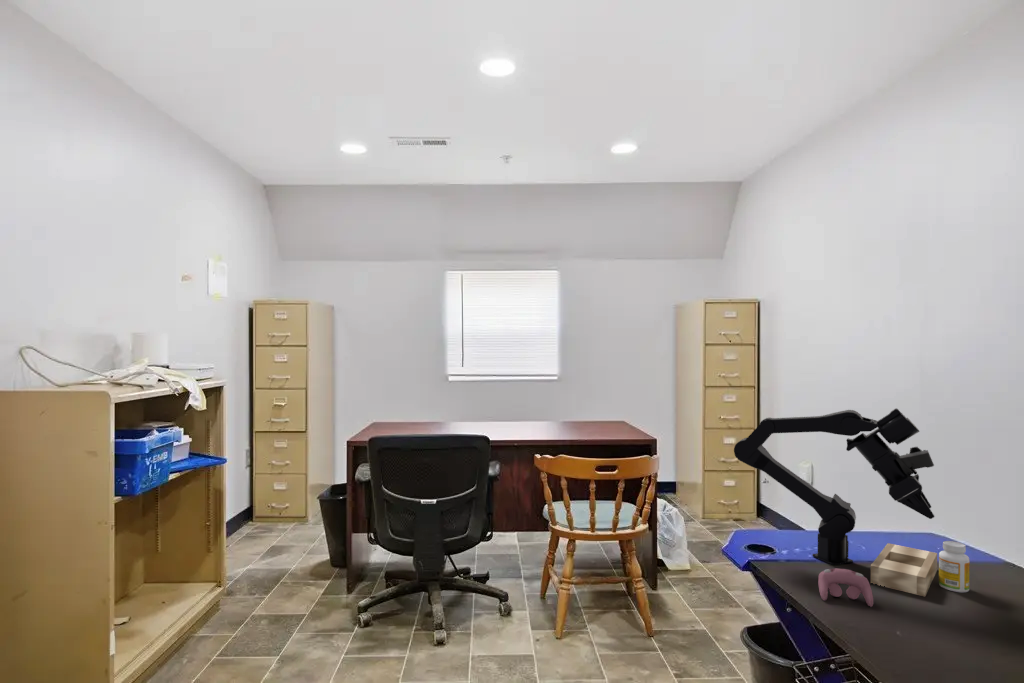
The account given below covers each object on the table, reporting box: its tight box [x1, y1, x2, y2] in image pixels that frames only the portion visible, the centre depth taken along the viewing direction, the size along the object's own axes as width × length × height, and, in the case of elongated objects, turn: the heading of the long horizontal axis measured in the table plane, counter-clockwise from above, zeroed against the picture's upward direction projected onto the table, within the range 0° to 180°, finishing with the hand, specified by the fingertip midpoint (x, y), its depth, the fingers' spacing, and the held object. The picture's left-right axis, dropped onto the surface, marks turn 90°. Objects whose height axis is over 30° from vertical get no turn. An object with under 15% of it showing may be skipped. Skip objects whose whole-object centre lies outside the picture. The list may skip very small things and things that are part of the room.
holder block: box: [870, 542, 938, 597], centre depth 134 cm, size 10×20×4 cm, turn 138°
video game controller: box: [817, 567, 874, 608], centre depth 122 cm, size 10×5×7 cm, turn 71°
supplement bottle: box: [938, 540, 971, 593], centre depth 128 cm, size 5×5×10 cm
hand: (931, 512), depth 134 cm, fingers open, 9 cm apart
